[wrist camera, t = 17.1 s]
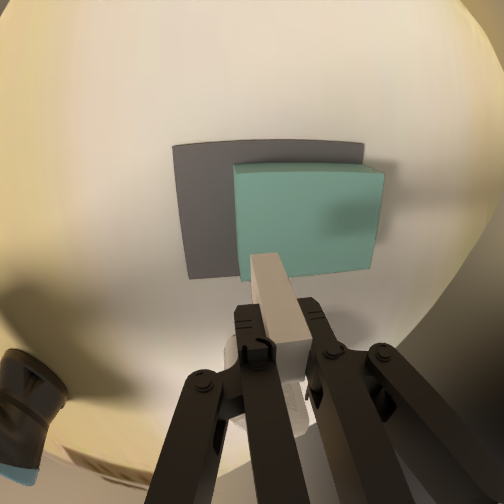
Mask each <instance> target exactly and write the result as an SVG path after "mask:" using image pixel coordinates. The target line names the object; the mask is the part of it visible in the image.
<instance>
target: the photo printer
mask: <svg viewBox="0 0 504 504" xmlns="http://www.w3.org/2000/svg"><path fill="white" fill-rule="evenodd" d="M237 358H238V351H237V342H236V335H234V336H232V337H231V338H229V339H228V341H227V342H226V347H225V348H224V370H226V369H228V368H230V367H231V366H233V365H234V364H235V362H236V361H237ZM282 389H283V393H284V397H285V402H286V406H287V410H288V414H289V418H290V422H291V426H292V430H293V435H294V438H296V437H298V436H300V435H303V434H304V433H305V432H306V430H307V429H308V426H309V416H308V412H307V409H306V405H305V402H304V398H303V395H302V391H301V388H300V384H299V382H295V383H289V384H282ZM230 420H231V421H232V422H233V423H234V424H235V425H237V426H238V427H240V428H242V429H243V430H245V431H247V428H246V420H245V413H244V414H242V415H239V416H236V417H234V418H231V419H230Z"/></svg>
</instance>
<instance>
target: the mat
mask: <svg viewBox="0 0 504 504" xmlns="http://www.w3.org/2000/svg"><path fill="white" fill-rule="evenodd" d="M172 150H173V161H174V172H175V182H176V191H177V199H178V208H179V216H180V223H181V230H182V237H183V244H184V251H185V257H186V263H187V270H188V275H189V279H202V278H216V277H229V276H240V269H239V262H238V251H237V232H236V213H235V192H234V169H233V165H234V164H254V163H344V164H362V157H363V144H362V143H351V142H336V141H317V140H246V141H226V142H211V143H199V144H189V145H179V146H172Z"/></svg>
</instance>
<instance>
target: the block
mask: <svg viewBox="0 0 504 504" xmlns="http://www.w3.org/2000/svg"><path fill="white" fill-rule="evenodd" d="M233 169H234V192H235V213H236V232H237V251H238V262H239V269H240V276H241V282H242V281H251V261H250V254H262V253H275V252H278V255H279V257H280V260H281V262H282V264H283V267H284V269H285V272H286V274H287V276H288V277H298V276H308V275H318V274H327V273H336V272H345V271H354V270H363V269H370V264H371V259H372V254H373V249H374V244H375V239H376V233H377V227H378V221H379V214H380V207H381V200H382V192H383V184H384V173H381V172H379V171H377V170H374V169H372V168H370V167H367V166H365V165H362V164H344V163H254V164H234V165H233Z"/></svg>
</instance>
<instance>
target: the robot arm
mask: <svg viewBox="0 0 504 504" xmlns="http://www.w3.org/2000/svg"><path fill="white" fill-rule="evenodd" d="M250 261H251V293H252V300H253V304H248V305H238V306H237V308H236V310H235V312H234V320H235V332H236V342H237V351H238V358H237V361H236V362H235V364H234V365H233V366H231V367H230V368H228V369H226V370H224V371H221V372H218V373H216V372H214V371H211V370H208V369H202V370H198V371H195V372H193V373H192V374H190V375H189V376H188V377H187V379H186V381H185V383H184V386H183V389H182V392H181V395H180V398H179V400H178V403H177V406H176V409H175V412H174V415H173V418H172V421H171V424H170V426H169V429H168V432H167V435H166V438H165V441H164V444H163V447H162V450H161V453H160V456H159V459H158V462H157V465H156V468H155V471H154V474H153V477H152V480H151V483H150V487H149V490H148V493H147V496H146V499H145V502H144V504H211V500H212V496H213V492H214V486H215V482H216V478H217V473H218V468H219V464H220V459H221V454H222V450H223V445H224V440H225V436H226V431H227V426H228V421H229V419H231V418H234V417H236V416H239V415H242V414H244V413H245V420H246V428H247V435H248V442H249V450H250V457H251V464H252V470H253V477H254V483H255V490H256V497H257V503H258V504H310V500H309V496H308V492H307V488H306V484H305V480H304V476H303V472H302V467H301V463H300V459H299V455H298V451H297V447H296V443H295V439H294V435H293V430H292V426H291V422H290V418H289V414H288V410H287V406H286V402H285V397H284V393H283V389H282V384H289V383H295V382H301V381H304V380H305V375H306V377H307V380H308V386H307V390H306V394H305V401H306V400H308V397H309V398H310V402H311V405H312V408H313V411H314V415H315V418H316V422H317V425H318V428H319V431H320V435H321V438H322V442H323V445H324V449H325V452H326V455H327V459H328V462H329V466H330V469H331V472H332V476H333V480H334V483H335V486H336V490H337V493H338V497H339V501H340V504H416V503H415V502H414V500H413V498H412V495H411V492H410V489H409V487H408V484H407V482H406V479H405V476H404V474H403V471H402V469H401V467H400V464H399V461H398V459H397V457H396V454H395V452H394V449H395V451H396V452H397V453H398V454H399V456H400V457H401V458H402V460H403V461H404V462H405V463H406V465H407V466H408V467H409V469H410V470H411V471H412V473H413V474H414V475H415V476H416V478H417V479H418V480H419V481H420V483H421V484H422V485H423V487H424V488H425V489H426V490H427V492H428V493H429V494H430V496H431V497H432V498H433V499H434V501H435V502H436V503H437V504H504V467H503V466H502V465H501V464H500V463H499V461H498V460H497V459H496V458H495V456H494V455H493V454H492V453H491V452H490V450H489V449H488V448H487V447H486V446H485V445H484V443H482V441H481V440H480V439H479V438H478V437H477V436H476V434H475V433H474V432H473V431H472V430H471V429H470V428H469V426H468V425H467V424H466V423H465V422H464V421H463V420H462V419H461V418H460V416H459V415H458V414H457V413H456V412H455V411H454V410H453V409H452V408H451V407H450V405H449V404H448V403H447V402H446V401H445V400H444V399H443V398H442V397H441V396H440V395H439V394H438V392H437V391H436V390H435V389H434V388H433V387H432V386H431V385H430V384H429V383H428V382H427V381H426V380H425V379H424V378H423V377H422V376H421V375H420V374H419V372H418V371H416V369H415V368H414V367H413V366H412V365H411V364H410V363H409V362H408V361H407V360H406V359H405V358H404V357H403V356H402V355H401V354H400V353H399V352H398V351H397V350H396V349H395V348H394V347H393V346H391V345H389V344H386V343H377V344H374V345H372V346H371V347H370V349H369V351H356V350H350V349H348V348H347V347H346V346H345V345H344V344H343V343H341V342H339V341H337V339H336V337H335V335H334V333H333V331H332V329H331V327H330V325H329V323H328V321H327V319H326V317H325V314H324V312H323V310H322V308H321V306H320V304H319V303H318V302H317V301H316V300H314V299H313V298H312V297H308V298H300V299H297V298H296V296H295V293H294V291H293V289H292V286H291V284H290V281H289V279H288V276H287V274H286V272H285V269H284V267H283V264H282V262H281V260H280V257H279V255H278V252H275V253H262V254H250ZM67 397H68V392H67V389H66V387H65V386H64V384H63V383H62V382H61V380H60V379H59V378H58V377H57V376H56V375H55V374H54V373H53V372H52V371H50V370H49V369H48V368H47V367H46V366H44V365H43V364H42V363H40V362H39V361H37V360H36V359H34V358H33V357H31V356H29V355H27V354H25V353H23V352H21V351H18V350H13V349H9V350H7V351H6V352H5V353H4V355H3V357H2V359H1V362H0V475H2V476H4V477H6V478H8V479H10V480H12V481H14V482H17V483H19V484H22V485H25V486H32V485H34V484H35V481H36V478H37V475H38V472H39V470H40V469H39V466H40V461H41V456H42V452H43V447H44V443H45V439H46V435H47V431H48V428H49V425H50V423H51V422H52V420H53V419H54V418H55V416H56V415H57V413H58V412H59V410H60V409H62V408H63V407H64V406H65V404H66V401H67ZM393 448H394V449H393Z"/></svg>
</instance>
